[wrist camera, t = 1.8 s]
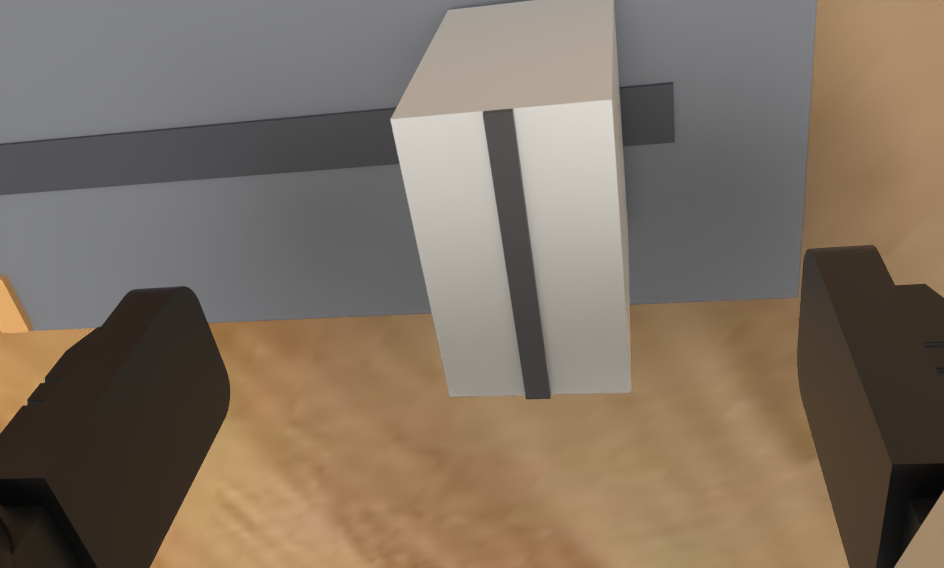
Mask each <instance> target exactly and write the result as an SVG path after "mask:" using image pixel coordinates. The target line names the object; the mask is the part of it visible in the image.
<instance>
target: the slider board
mask: <svg viewBox="0 0 944 568" xmlns="http://www.w3.org/2000/svg"><path fill="white" fill-rule="evenodd" d="M523 1H531V0H0V332H2V333H19V332H30V331H35V330H58V329H81V328H97V327H101V326H102V325H103V323H104V322H105V321H106V320H107V318H108V317H109V316H110V314H111V313H112V312H113V310H114V309H115V308H116V307H117V305H118V304H119V303H120V301H121V300H122V299H123V297H124V296H125V295H126V294H127V293H128V292H129V291H131V290H134V289H146V288H162V287H178V286H186V287H189V288H190V289H191V290H192V291H193V292H194V293H195V294H196V296H197V298H198V300H199V302H200V304H201V307H202V309H203V312H204V315H205V317H206V320H207V322H208V323H219V322H243V321H266V320H289V319H312V318H335V317H358V316H381V315H404V314H427V313H432V312H431V307H430V303H429V298H428V293H427V289H426V284H425V279H424V275H423V270H422V265H421V261H420V256H419V251H418V247H417V242H416V237H415V233H414V228H413V223H412V219H411V214H410V209H409V205H408V200H407V195H406V190H405V186H404V181H403V176H402V172H401V167H400V162H399V158H398V153H397V148H396V144H395V139H394V134H393V130H392V125H391V120H390V119H391V117H392V115H393V113H394V111H395V110H396V108H397V106H398V104H399V102H400V100H401V98H402V96H403V94H404V93H405V91H406V89H407V87H408V85H409V83H410V81H411V79H412V77H413V76H414V74H415V72H416V70H417V68H418V66H419V64H420V62H421V60H422V59H423V57H424V55H425V53H426V51H427V49H428V47H429V45H430V43H431V42H432V40H433V38H434V36H435V34H436V32H437V30H438V28H439V26H440V25H441V23H442V21H443V19H444V17H445V15H446V13H447V11H448V10H452V9H461V8H469V7H478V6H487V5H496V4H505V3H514V2H523ZM816 7H817V0H614V10H615V26H616V42H617V59H618V75H619V91H620V108H621V124H622V140H623V156H624V173H625V189H626V205H627V222H628V246H629V297H630V305H635V304H658V303H682V302H705V301H728V300H751V299H774V298H797V297H798V292H799V276H800V261H801V245H802V229H803V213H804V197H805V181H806V165H807V150H808V134H809V118H810V102H811V86H812V70H813V54H814V39H815V23H816Z"/></svg>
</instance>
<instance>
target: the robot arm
mask: <svg viewBox="0 0 944 568" xmlns="http://www.w3.org/2000/svg"><path fill="white" fill-rule="evenodd" d="M797 366H798V379H799V387H800V393H801V398H802V401H803V405H804V409H805V412H806V416H807V419H808V423H809V426H810V430H811V433H812V437H813V440H814V444H815V447H816V451H817V455H818V458H819V462H820V465H821V469H822V472H823V476H824V479H825V483H826V486H827V490H828V493H829V497H830V500H831V504H832V507H833V511H834V514H835V518H836V522H837V525H838V529H839V532H840V536H841V539H842V543H843V546H844V550H845V553H846V557H847V560H848V564H849V567H850V568H944V298H943V297H942V296H941V295H939V294H938V293H936V292H935V291H934V290H932V289H931V288H930V287H928V286H927V285H926V284H915V285H897V286H895V284H894V282H893V280H892V278H891V276H890V274H889V272H888V270H887V268H886V266H885V264H884V262H883V260H882V258H881V256H880V254H879V252H878V250H877V248H876V247H875V246H873V245H865V246H848V247H832V248H816V249H808V250H807V251H806V253H805V257H804V262H803V274H802V289H801V303H800V318H799V332H798V347H797ZM27 401H28V404H27V406H22V407H21V408H20V410H19V411H18V412H17V413H16V415H15V416H14V417H13V419H12V420H11V421H10V422H9V424H8V425H7V426H6V427H5V429H4V430H3V431H2V432H1V434H0V568H150V566H151V564H152V562H153V560H154V558H155V556H156V554H157V552H158V550H159V548H160V546H161V544H162V542H163V540H164V538H165V536H166V534H167V532H168V530H169V528H170V526H171V524H172V522H173V520H174V518H175V516H176V514H177V512H178V510H179V508H180V506H181V504H182V502H183V500H184V498H185V496H186V494H187V492H188V490H189V488H190V487H191V485H192V483H193V481H194V479H195V477H196V475H197V473H198V471H199V469H200V467H201V465H202V463H203V461H204V459H205V457H206V455H207V453H208V451H209V449H210V447H211V445H212V443H213V441H214V439H215V437H216V435H217V433H218V431H219V429H220V427H221V425H222V423H223V421H224V419H225V417H226V415H227V411H228V407H229V401H230V384H229V378H228V374H227V371H226V368H225V365H224V363H223V360H222V358H221V355H220V353H219V350H218V348H217V345H216V343H215V340H214V337H213V335H212V332H211V330H210V327H209V325H208V322H207V320H206V317H205V315H204V312H203V309H202V307H201V304H200V302H199V300H198V298H197V296H196V294H195V293H194V292H193V291H192V290H191V289H190V288H189V287H186V286H178V287H162V288H146V289H134V290H131V291H129V292H128V293H127V294H126V295H125V296H124V297H123V299H122V300H121V301H120V303H119V304H118V305H117V307H116V308H115V309H114V310H113V312H112V313H111V314H110V316H109V317H108V318H107V320H106V321H105V322H104V323H103V325H102V326H101V327H97V328H96V329H95V330H93V331H92V332H91V333H89V334H88V335H87V336H85V337H84V338H83V339H81V340H80V341H79V342H77V343H76V344H75V345H73V346H72V347H71V348H69V349H68V350H67V351H66V352H65V353H64V354H63V355H62V357H61V358H60V359H59V361H58V362H57V363H56V364H55V366H54V367H53V368H52V369H51V371H50V372H49V373H48V374H47V376H46V377H45V383H40V384H39V386H38V387H37V388H36V390H35V391H34V392H33V393H32V395H31V396H30V397H29V398H28V400H27Z"/></svg>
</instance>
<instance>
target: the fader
mask: <svg viewBox="0 0 944 568" xmlns="http://www.w3.org/2000/svg"><path fill="white" fill-rule="evenodd" d="M390 120H391V125H392V130H393V134H394V139H395V144H396V148H397V153H398V158H399V162H400V167H401V172H402V176H403V181H404V186H405V190H406V195H407V200H408V205H409V209H410V214H411V219H412V223H413V228H414V233H415V237H416V242H417V247H418V251H419V256H420V261H421V265H422V270H423V275H424V279H425V284H426V289H427V293H428V298H429V303H430V307H431V312H432V317H433V321H434V326H435V331H436V335H437V340H438V345H439V349H440V354H441V359H442V364H443V368H444V373H445V378H446V382H447V387H448V392H449V396H450V397H472V396H514V395H525V396H526V399H550V398H551V395H556V394H598V393H631V349H630V297H629V246H628V222H627V205H626V189H625V173H624V156H623V140H622V124H621V108H620V91H619V75H618V59H617V42H616V26H615V10H614V0H531V1H523V2H514V3H505V4H496V5H487V6H478V7H469V8H461V9H452V10H448V11H447V13H446V15H445V17H444V19H443V21H442V23H441V25H440V26H439V28H438V30H437V32H436V34H435V36H434V38H433V40H432V42H431V43H430V45H429V47H428V49H427V51H426V53H425V55H424V57H423V59H422V60H421V62H420V64H419V66H418V68H417V70H416V72H415V74H414V76H413V77H412V79H411V81H410V83H409V85H408V87H407V89H406V91H405V93H404V94H403V96H402V98H401V100H400V102H399V104H398V106H397V108H396V110H395V111H394V113H393V115H392V117H391V119H390Z"/></svg>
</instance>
